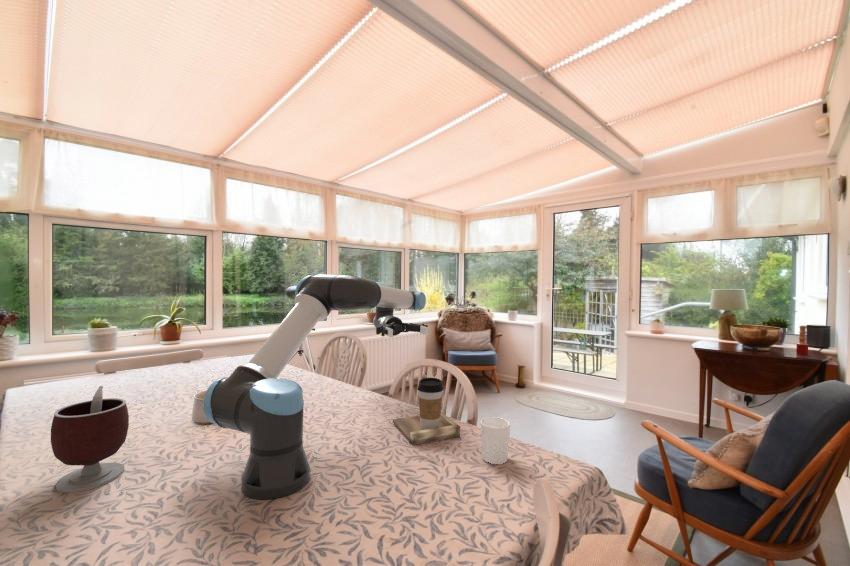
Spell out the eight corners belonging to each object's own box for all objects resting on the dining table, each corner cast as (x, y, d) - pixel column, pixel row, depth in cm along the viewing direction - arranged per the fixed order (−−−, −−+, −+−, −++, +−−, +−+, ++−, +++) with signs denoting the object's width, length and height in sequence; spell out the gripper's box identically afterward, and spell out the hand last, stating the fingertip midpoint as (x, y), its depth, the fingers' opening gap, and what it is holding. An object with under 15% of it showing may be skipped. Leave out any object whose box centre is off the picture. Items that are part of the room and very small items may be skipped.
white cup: (512, 466, 97) (512, 428, 97) (482, 465, 97) (482, 427, 97) (506, 452, 105) (506, 417, 105) (478, 451, 105) (478, 416, 105)
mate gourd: (122, 484, 86) (122, 398, 86) (39, 501, 79) (39, 408, 79) (134, 456, 100) (134, 382, 100) (65, 468, 93) (65, 389, 93)
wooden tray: (412, 445, 108) (412, 434, 108) (392, 422, 125) (392, 413, 125) (460, 436, 115) (460, 426, 115) (435, 416, 131) (435, 407, 131)
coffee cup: (443, 423, 122) (444, 377, 122) (442, 433, 114) (442, 384, 114) (418, 421, 123) (419, 376, 123) (415, 432, 115) (415, 383, 115)
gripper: (419, 333, 154) (442, 341, 135) (360, 336, 145) (375, 345, 125) (420, 315, 154) (442, 320, 135) (361, 316, 145) (375, 323, 125)
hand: (410, 332), depth 130 cm, fingers open, 13 cm apart
